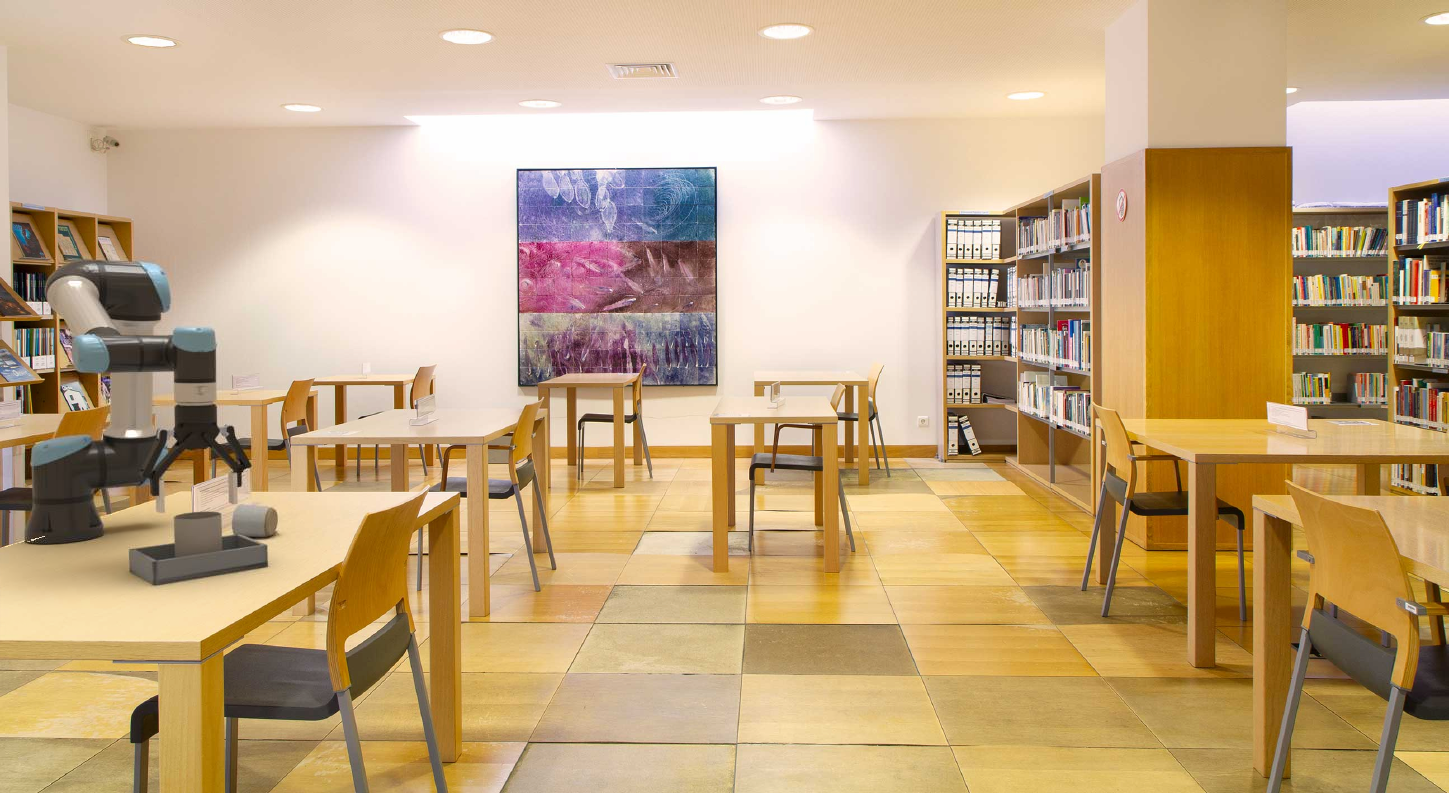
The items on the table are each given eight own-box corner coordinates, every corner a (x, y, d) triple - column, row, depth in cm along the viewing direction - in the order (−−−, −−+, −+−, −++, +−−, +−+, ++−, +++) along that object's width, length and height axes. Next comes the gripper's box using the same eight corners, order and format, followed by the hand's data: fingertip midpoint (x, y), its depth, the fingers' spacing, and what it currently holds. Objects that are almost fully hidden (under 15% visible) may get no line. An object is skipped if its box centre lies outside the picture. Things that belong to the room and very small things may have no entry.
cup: (174, 570, 187) (172, 520, 187) (176, 561, 195) (174, 513, 194) (222, 566, 191) (221, 517, 191) (222, 557, 199) (221, 510, 198)
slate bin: (129, 571, 190) (129, 549, 190) (239, 554, 206) (239, 533, 205) (154, 585, 180) (153, 562, 180) (267, 566, 195) (267, 544, 195)
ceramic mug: (267, 539, 220) (267, 507, 220) (231, 540, 219) (230, 507, 219) (284, 531, 231) (284, 499, 230) (249, 531, 230) (249, 499, 230)
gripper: (131, 407, 179) (133, 518, 181) (267, 402, 197) (268, 502, 199) (119, 404, 184) (121, 512, 186) (252, 399, 202) (254, 497, 204)
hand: (197, 507), depth 192 cm, fingers open, 13 cm apart
